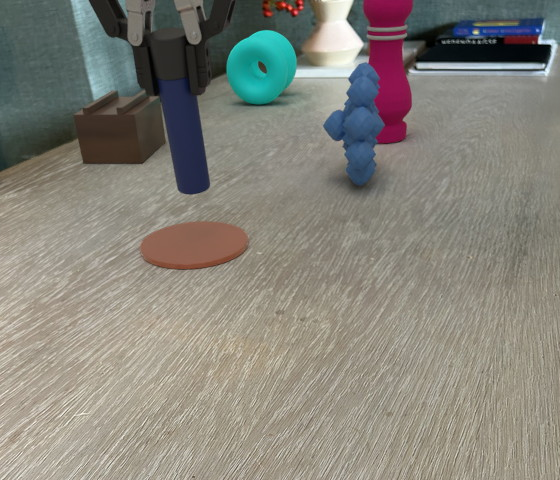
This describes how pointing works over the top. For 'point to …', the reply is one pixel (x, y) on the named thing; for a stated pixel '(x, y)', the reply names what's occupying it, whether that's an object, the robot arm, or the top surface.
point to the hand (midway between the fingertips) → (176, 92)
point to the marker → (179, 110)
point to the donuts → (250, 78)
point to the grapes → (358, 124)
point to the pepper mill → (389, 64)
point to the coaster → (194, 245)
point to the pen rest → (120, 128)
